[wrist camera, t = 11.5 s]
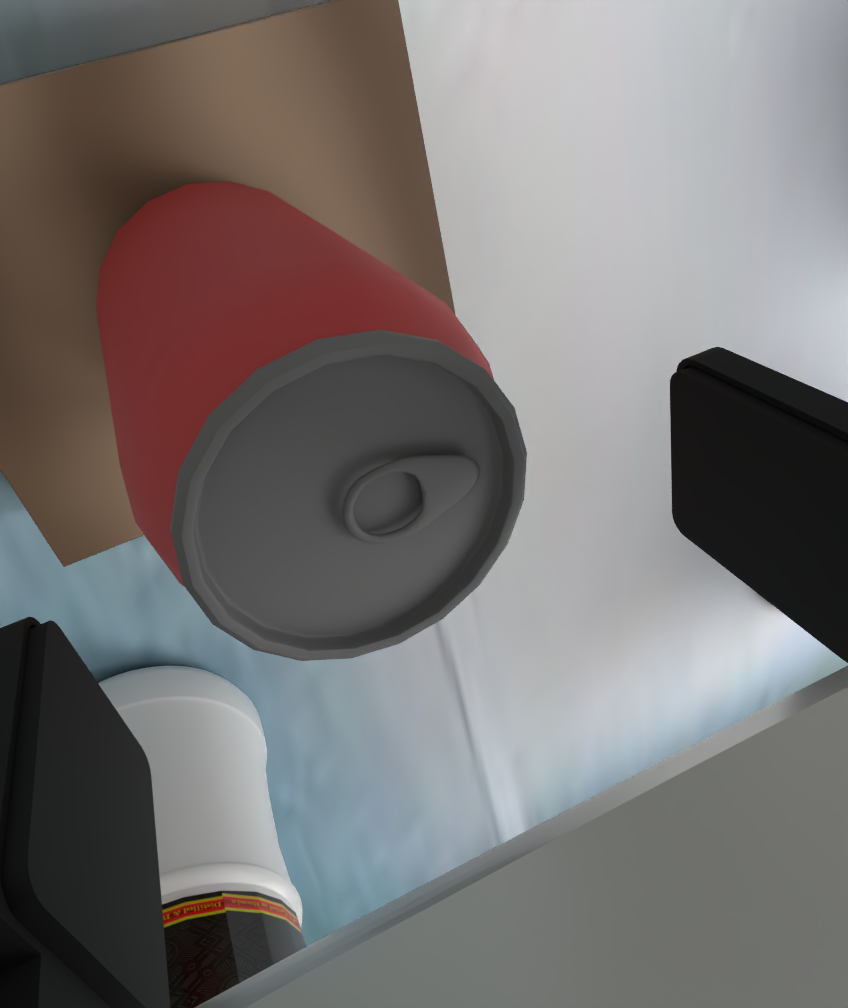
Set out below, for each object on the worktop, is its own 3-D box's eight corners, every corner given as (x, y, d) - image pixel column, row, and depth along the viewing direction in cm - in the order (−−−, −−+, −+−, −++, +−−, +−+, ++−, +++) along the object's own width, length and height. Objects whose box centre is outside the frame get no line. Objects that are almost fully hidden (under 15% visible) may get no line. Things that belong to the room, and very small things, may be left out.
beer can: (359, 376, 23) (568, 595, 14) (151, 445, 21) (224, 749, 12) (305, 149, 19) (543, 236, 10) (48, 214, 18) (38, 390, 8)
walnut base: (346, -4, 21) (395, -13, 18) (426, 366, 28) (471, 404, 25) (-168, 126, 18) (-214, 141, 15) (63, 503, 25) (63, 566, 22)
